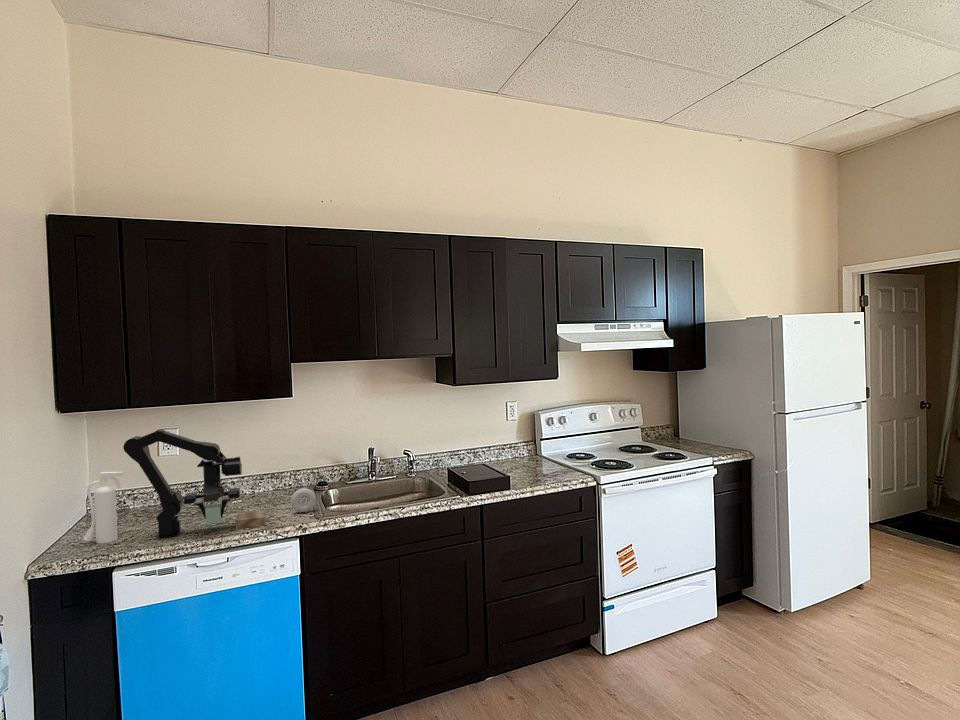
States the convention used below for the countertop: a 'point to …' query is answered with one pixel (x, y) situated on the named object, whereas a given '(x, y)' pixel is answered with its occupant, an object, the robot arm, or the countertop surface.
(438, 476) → the countertop surface
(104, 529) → the fire extinguisher
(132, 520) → the countertop surface
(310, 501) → the donut
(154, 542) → the countertop surface
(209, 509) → the sage block
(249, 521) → the walnut base
